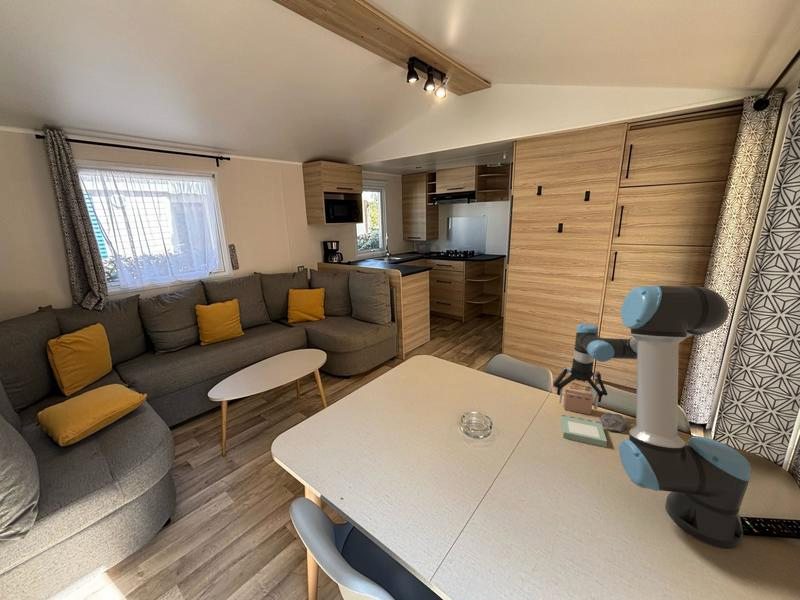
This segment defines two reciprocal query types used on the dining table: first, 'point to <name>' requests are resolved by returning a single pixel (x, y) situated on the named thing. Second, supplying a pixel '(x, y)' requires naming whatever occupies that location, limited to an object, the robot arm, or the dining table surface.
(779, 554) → the dining table surface
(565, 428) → the green picture frame
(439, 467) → the dining table surface
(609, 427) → the rock
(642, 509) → the dining table surface
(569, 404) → the pinkish brown box
